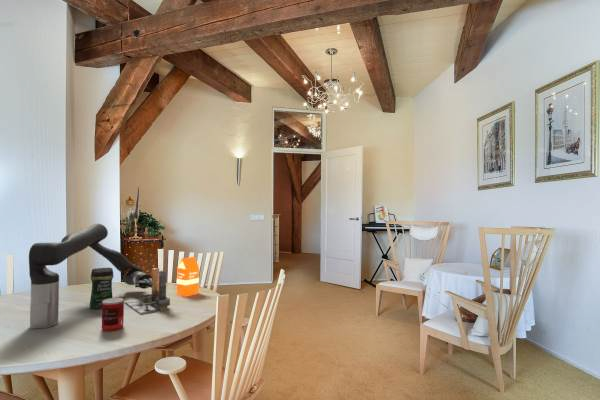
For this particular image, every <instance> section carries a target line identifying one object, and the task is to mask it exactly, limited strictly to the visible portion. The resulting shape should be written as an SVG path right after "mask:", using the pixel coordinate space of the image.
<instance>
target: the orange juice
mask: <svg viewBox="0 0 600 400" xmlns="http://www.w3.org/2000/svg"><path fill="white" fill-rule="evenodd" d="M176 270H177V271H176V295H177V296H181V297H188V296H192V295H193V296H194V295H197V294H199V293H200V291H199V290H200V289H199V288H200V283H199V282H200V267H199V264H198V263H197V260H196V257H195V256H191V257H184V258H181V259H180V261H179V263H178V266H177V268H176Z"/></svg>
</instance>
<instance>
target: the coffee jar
mask: <svg viewBox="0 0 600 400" xmlns="http://www.w3.org/2000/svg"><path fill="white" fill-rule="evenodd" d="M113 279H114V270H113V268H112V267H98V268H97V267H96V268H93V269H91V273H90V280H91V284H92V285H91V292H90V293H91V294H90V298H89V308H91V309H93V310H97V309H102V301H103V300H106V299H110V298H114V297H113V290H112V289H113V287H112V285H113V283H112V282H113Z"/></svg>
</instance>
